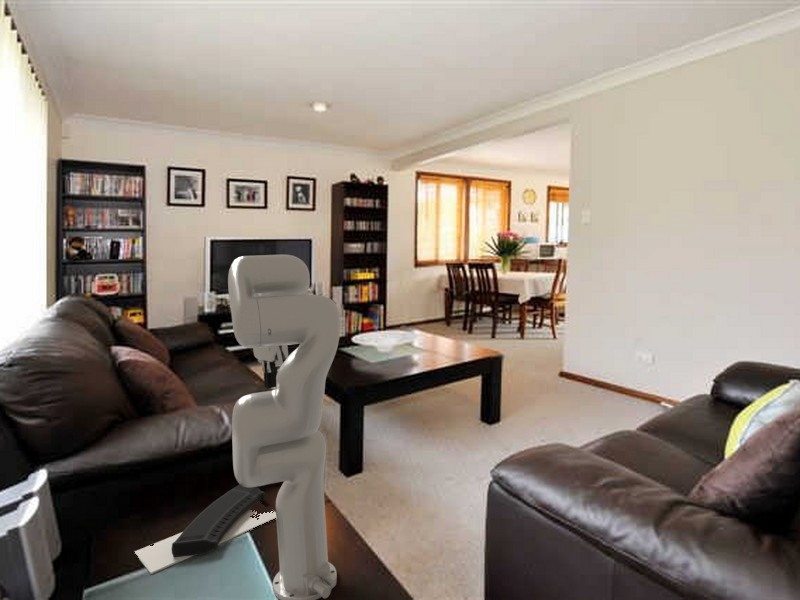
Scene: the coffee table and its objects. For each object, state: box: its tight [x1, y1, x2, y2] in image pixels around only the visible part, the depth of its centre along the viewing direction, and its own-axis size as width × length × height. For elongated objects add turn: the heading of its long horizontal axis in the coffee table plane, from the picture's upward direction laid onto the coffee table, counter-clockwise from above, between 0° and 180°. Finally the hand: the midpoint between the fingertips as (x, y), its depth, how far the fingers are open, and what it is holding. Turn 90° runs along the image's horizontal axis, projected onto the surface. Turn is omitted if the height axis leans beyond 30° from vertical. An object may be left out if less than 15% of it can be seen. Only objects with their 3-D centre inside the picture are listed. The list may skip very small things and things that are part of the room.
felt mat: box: [134, 509, 276, 575], centre depth 118 cm, size 12×31×1 cm, turn 134°
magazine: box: [172, 483, 266, 558], centre depth 121 cm, size 17×3×30 cm
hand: (271, 386), depth 125 cm, fingers closed
